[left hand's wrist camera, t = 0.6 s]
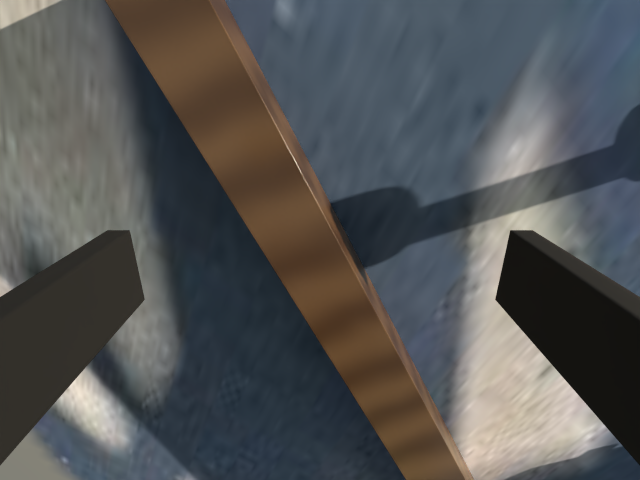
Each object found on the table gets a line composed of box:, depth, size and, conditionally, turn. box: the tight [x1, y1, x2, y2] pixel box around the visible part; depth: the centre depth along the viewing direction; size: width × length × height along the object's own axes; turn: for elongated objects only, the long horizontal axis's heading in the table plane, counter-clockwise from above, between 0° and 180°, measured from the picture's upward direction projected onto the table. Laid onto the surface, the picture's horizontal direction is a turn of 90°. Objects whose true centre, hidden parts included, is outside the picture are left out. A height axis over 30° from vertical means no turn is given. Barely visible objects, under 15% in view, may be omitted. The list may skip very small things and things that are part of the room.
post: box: [105, 0, 474, 480], centre depth 35 cm, size 72×6×8 cm, turn 27°
